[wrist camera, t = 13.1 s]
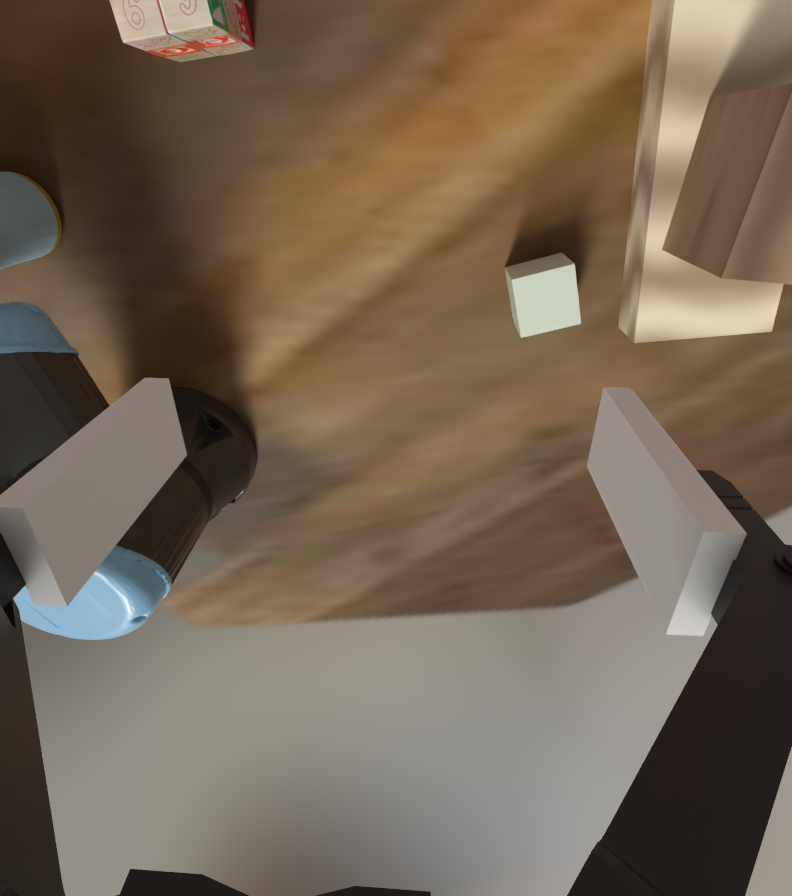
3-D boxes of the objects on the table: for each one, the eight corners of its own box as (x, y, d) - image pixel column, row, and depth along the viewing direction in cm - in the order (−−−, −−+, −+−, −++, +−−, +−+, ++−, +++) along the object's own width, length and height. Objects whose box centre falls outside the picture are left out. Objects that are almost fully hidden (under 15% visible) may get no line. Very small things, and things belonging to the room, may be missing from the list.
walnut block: (797, 104, 36) (911, 92, 27) (738, 256, 41) (819, 287, 32) (709, 97, 36) (795, 82, 27) (661, 249, 41) (721, 278, 32)
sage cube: (567, 307, 48) (581, 323, 44) (513, 320, 49) (520, 337, 45) (561, 252, 46) (574, 263, 42) (504, 267, 47) (511, 279, 43)
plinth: (741, 314, 48) (771, 331, 44) (616, 325, 49) (634, 342, 45) (816, -29, 36) (867, -53, 32) (649, -4, 37) (677, -23, 33)
